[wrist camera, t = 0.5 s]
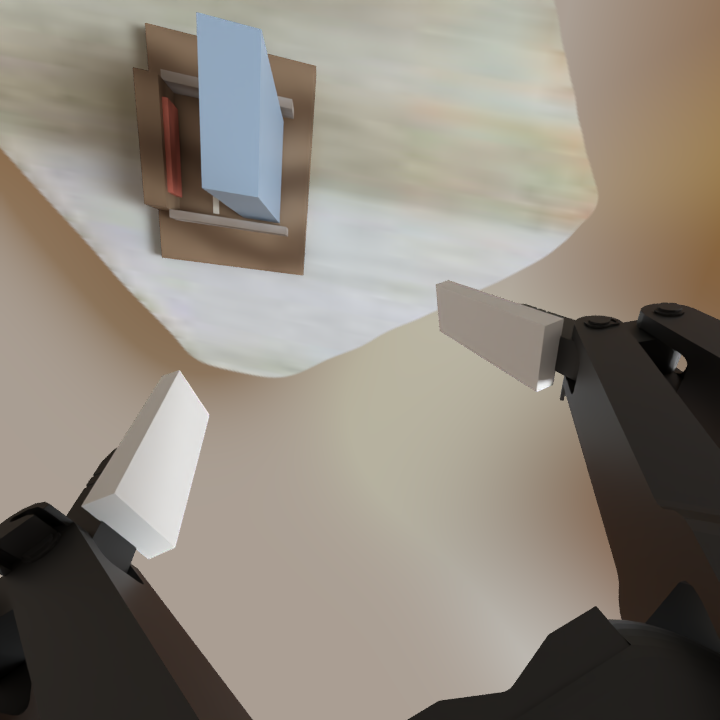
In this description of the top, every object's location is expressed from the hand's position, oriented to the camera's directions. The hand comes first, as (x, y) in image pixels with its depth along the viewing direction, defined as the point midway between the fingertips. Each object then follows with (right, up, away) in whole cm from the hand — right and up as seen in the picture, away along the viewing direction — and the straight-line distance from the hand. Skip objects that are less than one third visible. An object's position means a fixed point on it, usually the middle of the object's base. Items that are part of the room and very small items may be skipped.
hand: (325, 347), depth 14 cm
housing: (-12, +21, +18) cm, 30 cm away
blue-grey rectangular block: (-9, +20, +17) cm, 28 cm away
